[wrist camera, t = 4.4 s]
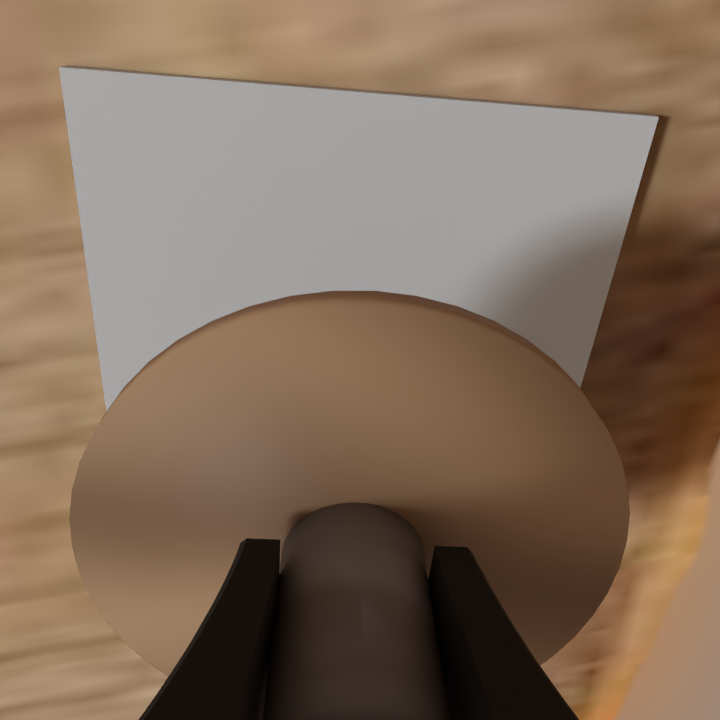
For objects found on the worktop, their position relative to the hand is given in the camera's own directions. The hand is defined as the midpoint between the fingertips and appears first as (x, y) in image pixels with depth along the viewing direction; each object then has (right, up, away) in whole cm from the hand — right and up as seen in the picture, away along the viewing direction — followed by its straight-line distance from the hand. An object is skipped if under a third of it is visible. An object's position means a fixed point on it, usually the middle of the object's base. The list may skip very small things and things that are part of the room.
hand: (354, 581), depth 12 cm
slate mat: (0, +6, +9) cm, 10 cm away
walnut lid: (0, +1, +1) cm, 1 cm away
